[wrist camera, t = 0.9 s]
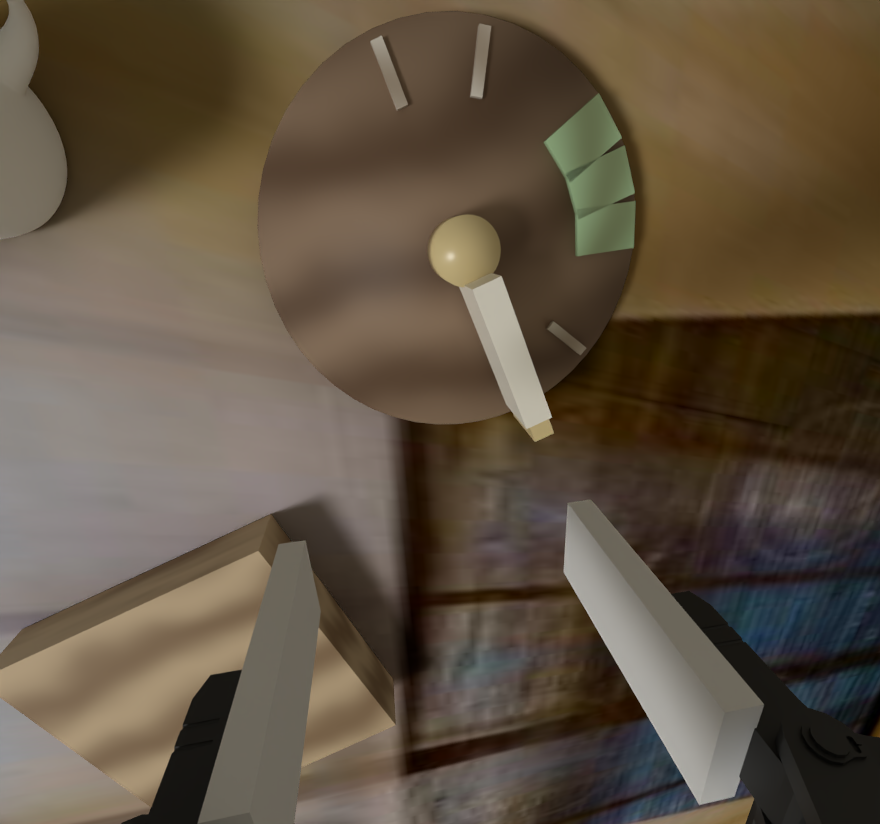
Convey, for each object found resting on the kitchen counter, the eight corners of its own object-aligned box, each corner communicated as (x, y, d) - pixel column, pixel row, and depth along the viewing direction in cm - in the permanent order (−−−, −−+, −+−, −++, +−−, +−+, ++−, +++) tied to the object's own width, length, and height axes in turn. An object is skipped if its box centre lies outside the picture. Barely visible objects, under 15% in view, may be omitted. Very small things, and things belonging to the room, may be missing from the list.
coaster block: (22, 629, 32) (-23, 680, 28) (270, 514, 31) (258, 550, 28) (192, 770, 40) (174, 824, 36) (393, 679, 39) (395, 725, 36)
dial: (177, 132, 23) (165, 126, 21) (568, -57, 22) (581, -77, 21) (372, 467, 31) (372, 477, 30) (656, 335, 31) (669, 340, 30)
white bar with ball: (416, 233, 25) (426, 232, 21) (475, 205, 25) (497, 199, 21) (495, 420, 30) (516, 450, 26) (544, 398, 30) (572, 424, 26)
